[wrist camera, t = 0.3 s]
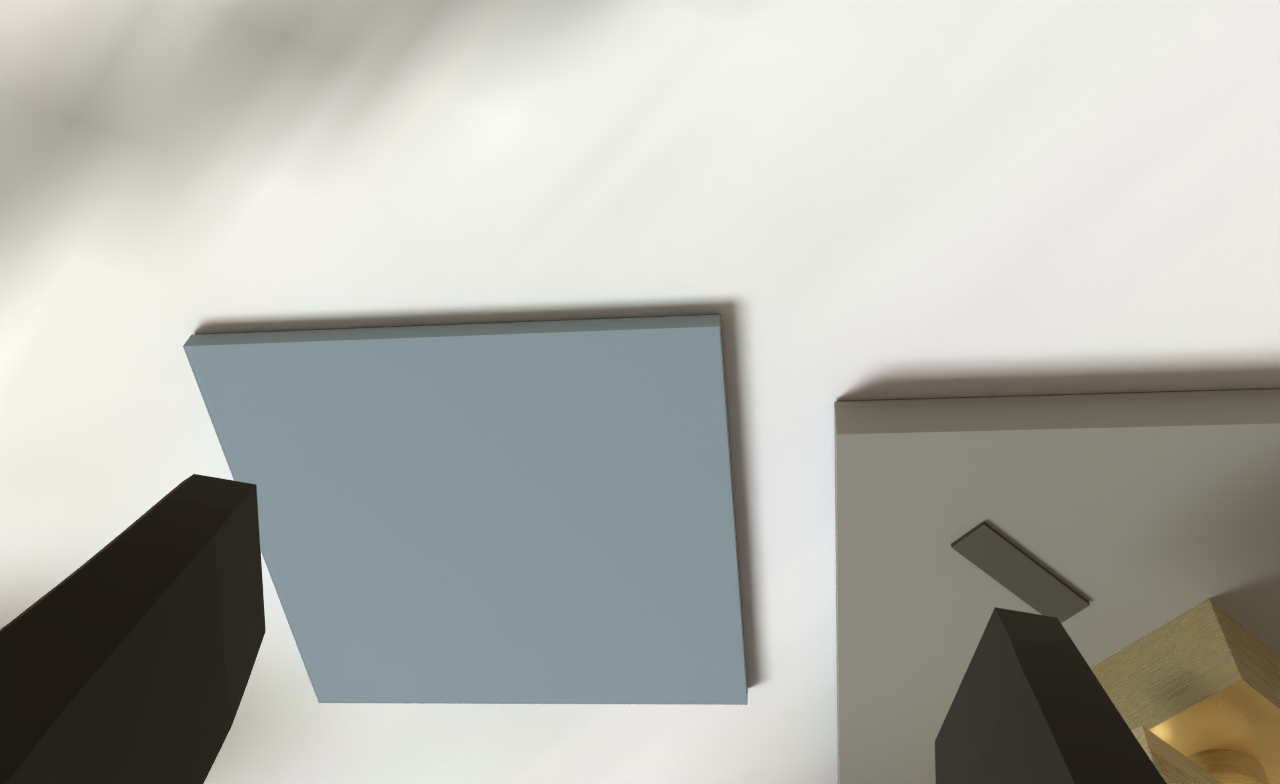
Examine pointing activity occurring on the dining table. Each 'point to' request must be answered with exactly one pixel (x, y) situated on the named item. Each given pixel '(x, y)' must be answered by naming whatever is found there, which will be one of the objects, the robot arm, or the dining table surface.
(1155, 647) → the t key
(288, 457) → the pad
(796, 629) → the dining table surface
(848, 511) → the cover plate
